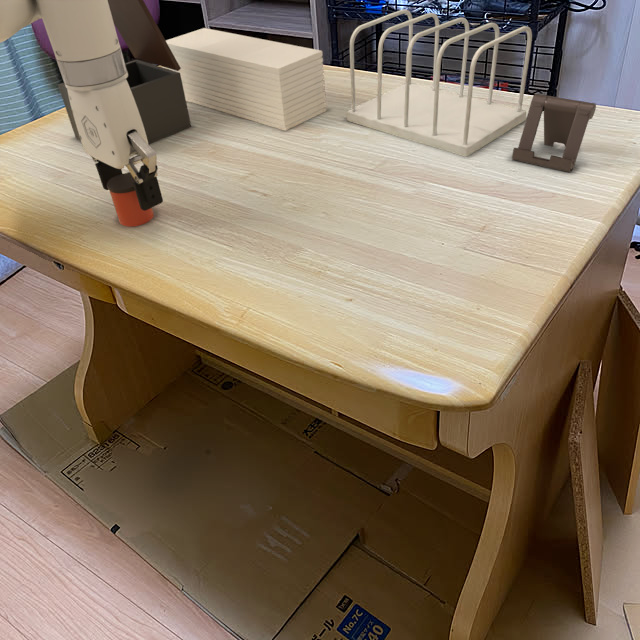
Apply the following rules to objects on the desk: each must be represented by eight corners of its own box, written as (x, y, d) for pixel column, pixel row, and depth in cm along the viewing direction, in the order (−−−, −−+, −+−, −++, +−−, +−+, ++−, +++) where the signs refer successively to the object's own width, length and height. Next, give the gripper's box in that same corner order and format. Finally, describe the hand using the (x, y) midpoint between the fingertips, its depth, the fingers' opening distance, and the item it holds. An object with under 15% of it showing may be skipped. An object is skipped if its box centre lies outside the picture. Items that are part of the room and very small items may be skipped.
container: (121, 232, 85) (108, 192, 82) (117, 215, 89) (105, 177, 85) (157, 223, 87) (146, 184, 83) (151, 207, 90) (141, 169, 87)
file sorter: (345, 122, 110) (341, 27, 100) (407, 92, 119) (409, 2, 109) (466, 158, 95) (475, 52, 85) (526, 121, 104) (540, 21, 94)
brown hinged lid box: (115, 159, 104) (98, 101, 98) (76, 140, 112) (57, 84, 106) (191, 128, 113) (180, 72, 106) (150, 112, 121) (136, 59, 114)
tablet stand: (509, 162, 93) (517, 107, 88) (531, 142, 98) (539, 89, 92) (568, 175, 89) (579, 118, 83) (588, 154, 93) (600, 98, 88)
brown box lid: (124, -25, 93) (148, -45, 95) (79, -32, 101) (103, -50, 103) (177, 71, 106) (199, 52, 107) (134, 58, 114) (154, 41, 115)
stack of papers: (173, 98, 126) (161, 41, 119) (213, 82, 132) (204, 27, 125) (285, 132, 108) (278, 68, 101) (326, 112, 114) (322, 50, 107)
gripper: (32, 65, 78) (78, 189, 89) (101, 91, 68) (143, 226, 79) (86, 49, 82) (123, 169, 93) (159, 70, 72) (191, 203, 82)
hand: (133, 195), depth 86 cm, fingers open, 9 cm apart
